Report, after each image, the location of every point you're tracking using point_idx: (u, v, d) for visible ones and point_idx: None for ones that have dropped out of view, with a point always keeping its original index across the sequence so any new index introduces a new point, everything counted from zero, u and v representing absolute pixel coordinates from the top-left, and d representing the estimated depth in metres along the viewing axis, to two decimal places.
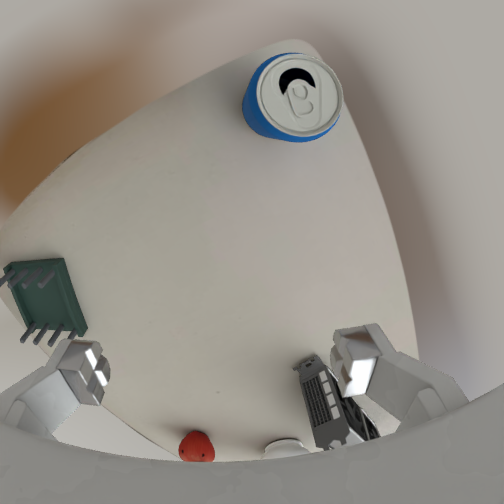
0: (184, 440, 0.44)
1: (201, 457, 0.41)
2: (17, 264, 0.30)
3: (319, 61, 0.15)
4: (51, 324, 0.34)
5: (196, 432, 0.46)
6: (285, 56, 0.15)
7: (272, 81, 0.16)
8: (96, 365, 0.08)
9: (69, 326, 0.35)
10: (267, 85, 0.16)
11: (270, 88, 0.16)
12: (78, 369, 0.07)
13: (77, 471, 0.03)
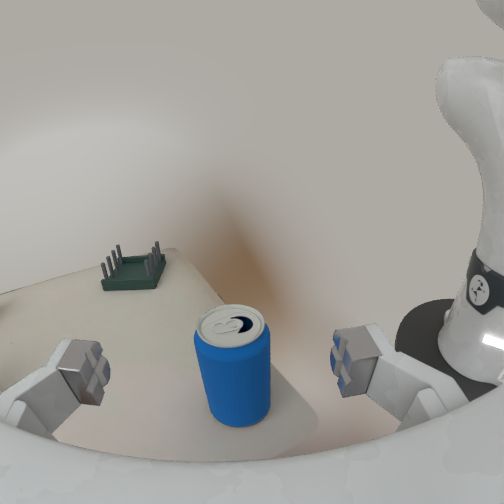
0: None
1: None
2: (163, 263, 0.60)
3: (261, 333, 0.22)
4: (116, 271, 0.57)
5: None
6: (260, 314, 0.24)
7: (240, 312, 0.25)
8: (95, 364, 0.08)
9: None
10: (236, 310, 0.25)
11: (234, 312, 0.25)
12: (78, 369, 0.07)
13: (77, 471, 0.03)
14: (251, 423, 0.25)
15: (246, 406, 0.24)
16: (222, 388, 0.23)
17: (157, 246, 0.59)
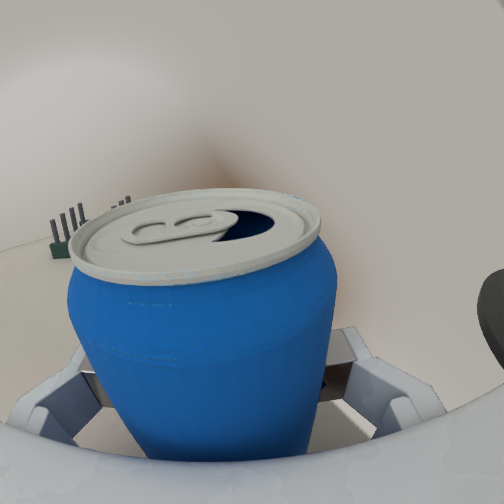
0: None
1: None
2: None
3: (313, 236, 0.05)
4: None
5: None
6: (297, 199, 0.07)
7: (230, 203, 0.08)
8: None
9: None
10: (220, 200, 0.08)
11: (212, 202, 0.08)
12: None
13: (76, 471, 0.03)
14: None
15: None
16: (164, 453, 0.05)
17: (128, 202, 0.42)
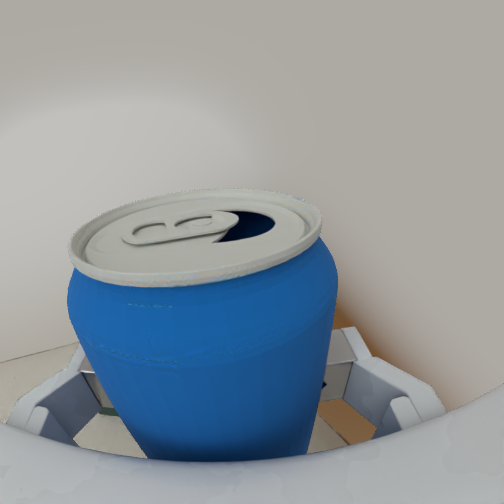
0: None
1: None
2: None
3: (313, 237, 0.05)
4: None
5: None
6: (297, 200, 0.07)
7: (230, 204, 0.08)
8: None
9: None
10: (220, 200, 0.08)
11: (213, 203, 0.08)
12: None
13: (77, 471, 0.03)
14: None
15: None
16: (164, 454, 0.05)
17: None
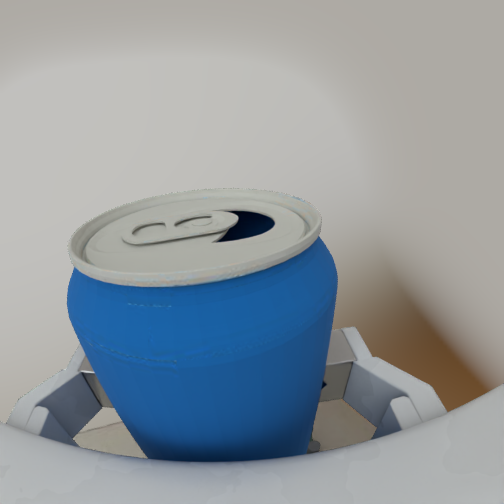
0: None
1: None
2: None
3: (313, 237, 0.05)
4: None
5: None
6: (297, 199, 0.07)
7: (230, 204, 0.08)
8: None
9: None
10: (220, 200, 0.08)
11: (212, 203, 0.08)
12: None
13: (77, 471, 0.03)
14: None
15: None
16: (164, 454, 0.05)
17: None
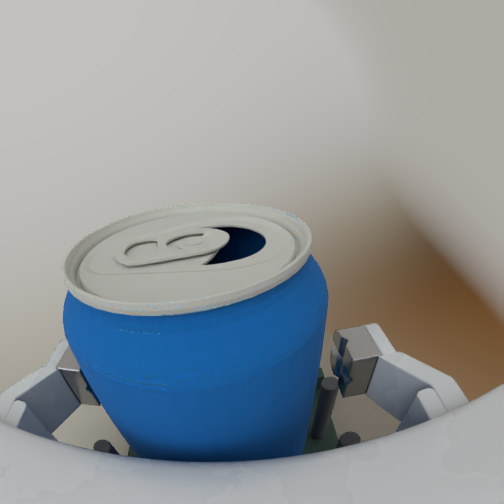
0: None
1: None
2: None
3: (303, 260, 0.05)
4: None
5: None
6: (290, 216, 0.07)
7: (223, 219, 0.08)
8: None
9: None
10: (213, 215, 0.08)
11: (206, 218, 0.08)
12: (78, 369, 0.07)
13: (77, 471, 0.03)
14: None
15: None
16: None
17: None
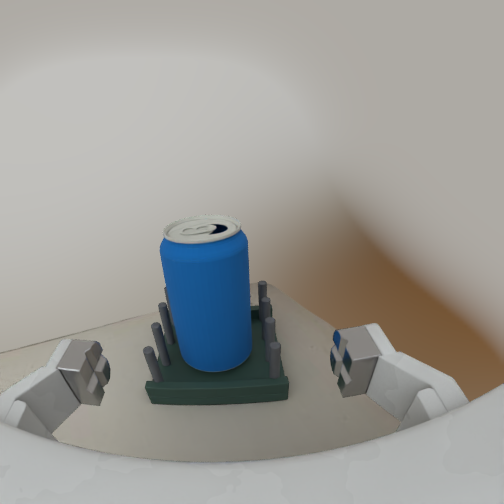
0: None
1: None
2: None
3: (235, 233, 0.20)
4: (171, 348, 0.26)
5: None
6: (237, 220, 0.22)
7: (215, 221, 0.22)
8: (96, 365, 0.08)
9: (163, 375, 0.23)
10: (211, 220, 0.23)
11: (208, 221, 0.22)
12: (78, 369, 0.07)
13: (77, 471, 0.03)
14: (227, 367, 0.22)
15: (219, 337, 0.21)
16: (189, 307, 0.20)
17: (264, 292, 0.28)
